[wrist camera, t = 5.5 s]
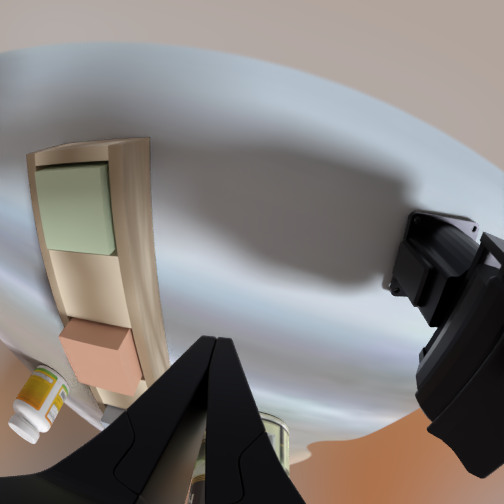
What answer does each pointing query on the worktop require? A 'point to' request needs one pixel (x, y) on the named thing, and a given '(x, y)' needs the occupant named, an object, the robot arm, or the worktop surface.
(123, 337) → the terracotta key
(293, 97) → the worktop surface
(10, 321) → the worktop surface
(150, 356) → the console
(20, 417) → the supplement bottle
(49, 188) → the sage key
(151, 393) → the robot arm
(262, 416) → the coffee can
